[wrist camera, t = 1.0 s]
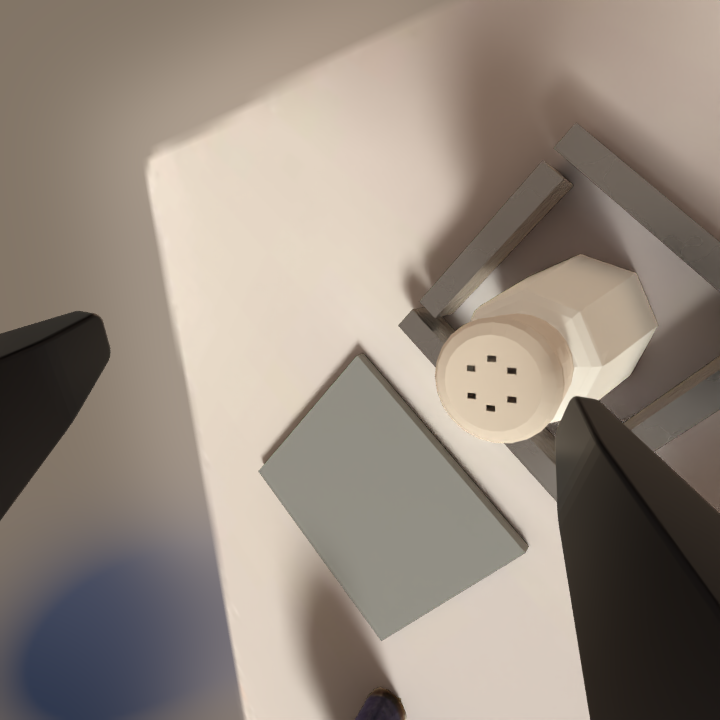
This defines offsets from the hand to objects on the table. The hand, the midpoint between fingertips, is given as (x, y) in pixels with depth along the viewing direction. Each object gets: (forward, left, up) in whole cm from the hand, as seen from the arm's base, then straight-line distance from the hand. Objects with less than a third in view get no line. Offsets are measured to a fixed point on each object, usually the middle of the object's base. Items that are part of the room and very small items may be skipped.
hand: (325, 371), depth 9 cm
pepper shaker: (-2, -1, -14) cm, 14 cm away
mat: (-2, +13, -14) cm, 19 cm away
